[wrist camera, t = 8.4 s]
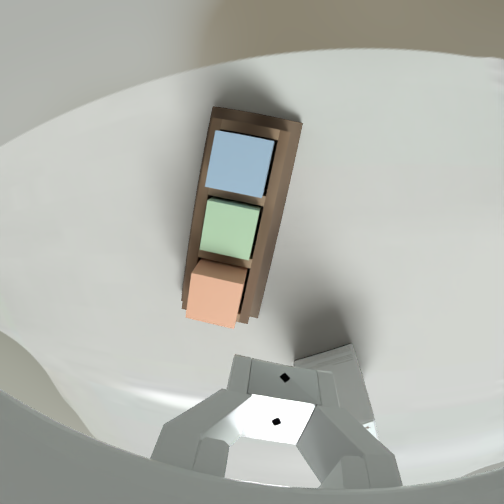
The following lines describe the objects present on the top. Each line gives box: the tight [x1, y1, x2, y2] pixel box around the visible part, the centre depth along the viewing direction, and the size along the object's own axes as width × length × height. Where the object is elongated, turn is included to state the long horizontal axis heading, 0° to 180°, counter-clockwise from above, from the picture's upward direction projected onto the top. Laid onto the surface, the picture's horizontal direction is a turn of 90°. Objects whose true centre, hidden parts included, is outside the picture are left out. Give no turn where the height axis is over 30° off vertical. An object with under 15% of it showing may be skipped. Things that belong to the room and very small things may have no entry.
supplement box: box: [294, 343, 379, 440], centre depth 36 cm, size 9×9×15 cm
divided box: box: [181, 106, 303, 324], centre depth 35 cm, size 10×24×6 cm, turn 168°
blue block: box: [205, 130, 274, 198], centre depth 29 cm, size 5×5×5 cm
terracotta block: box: [186, 258, 248, 329], centre depth 33 cm, size 5×5×5 cm
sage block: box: [199, 196, 261, 260], centre depth 33 cm, size 5×5×5 cm
